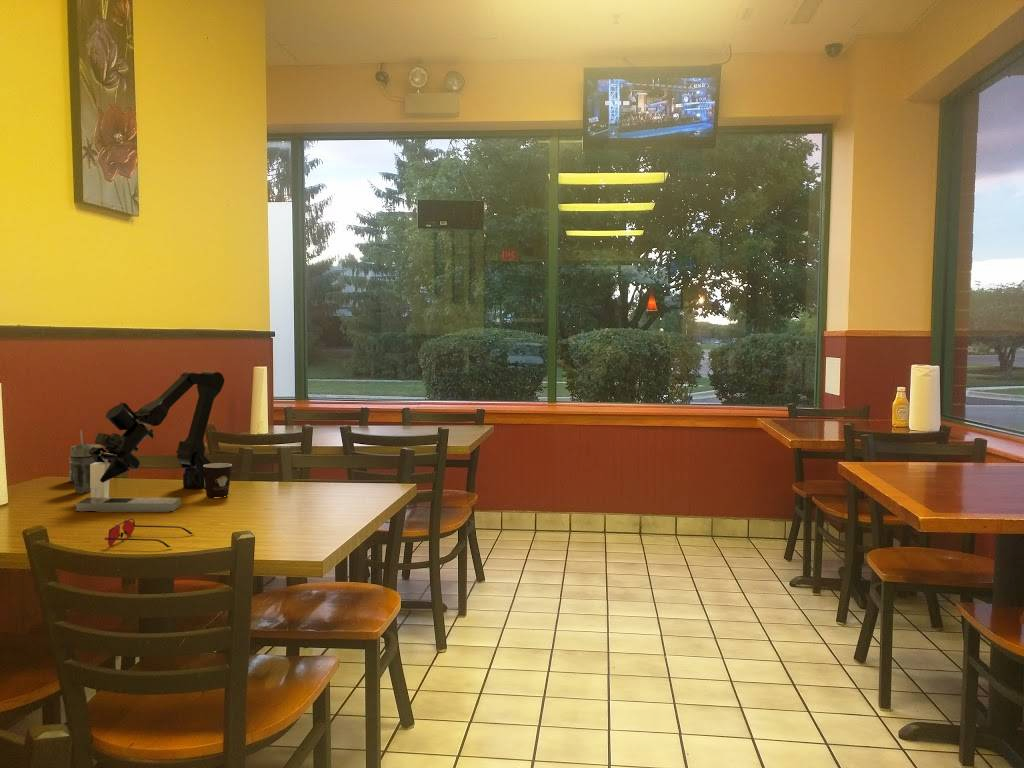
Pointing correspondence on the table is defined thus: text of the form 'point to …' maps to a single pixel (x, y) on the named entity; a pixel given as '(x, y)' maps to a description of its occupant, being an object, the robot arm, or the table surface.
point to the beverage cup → (81, 466)
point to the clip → (96, 485)
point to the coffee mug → (216, 479)
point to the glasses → (128, 530)
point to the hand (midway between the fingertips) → (95, 480)
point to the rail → (128, 504)
